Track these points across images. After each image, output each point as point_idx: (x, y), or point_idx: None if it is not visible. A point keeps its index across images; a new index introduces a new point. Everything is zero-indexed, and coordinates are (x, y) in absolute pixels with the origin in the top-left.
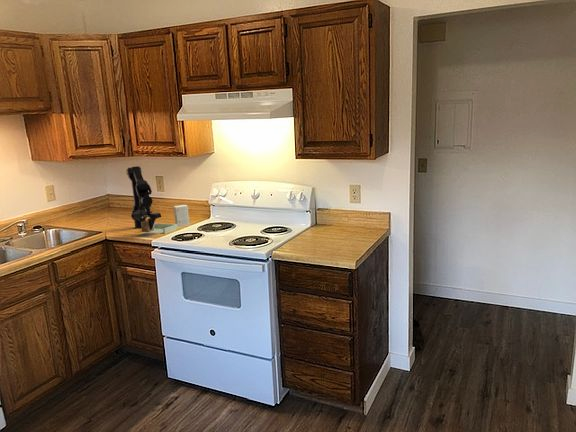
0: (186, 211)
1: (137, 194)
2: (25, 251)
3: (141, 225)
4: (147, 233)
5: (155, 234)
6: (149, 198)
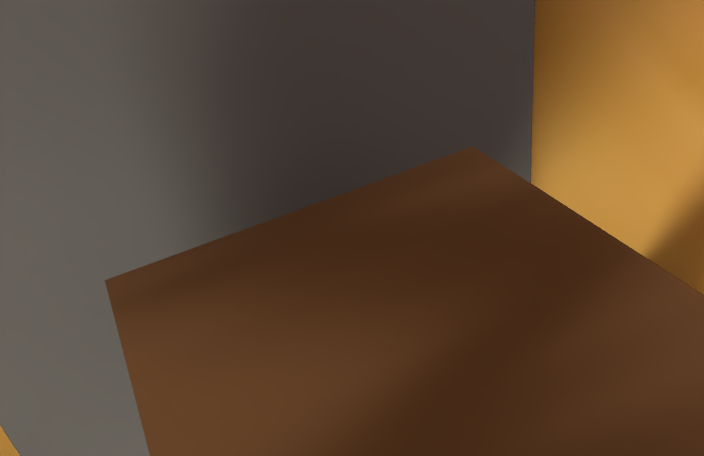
0: None
1: None
2: None
3: (701, 316)
4: None
5: (2, 424)
6: None
